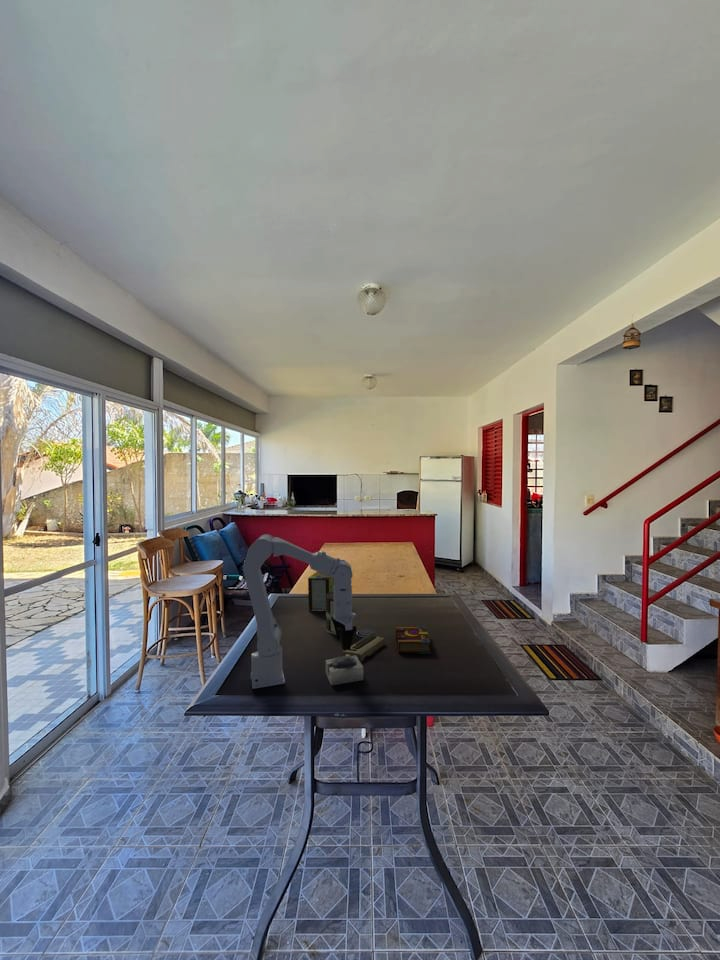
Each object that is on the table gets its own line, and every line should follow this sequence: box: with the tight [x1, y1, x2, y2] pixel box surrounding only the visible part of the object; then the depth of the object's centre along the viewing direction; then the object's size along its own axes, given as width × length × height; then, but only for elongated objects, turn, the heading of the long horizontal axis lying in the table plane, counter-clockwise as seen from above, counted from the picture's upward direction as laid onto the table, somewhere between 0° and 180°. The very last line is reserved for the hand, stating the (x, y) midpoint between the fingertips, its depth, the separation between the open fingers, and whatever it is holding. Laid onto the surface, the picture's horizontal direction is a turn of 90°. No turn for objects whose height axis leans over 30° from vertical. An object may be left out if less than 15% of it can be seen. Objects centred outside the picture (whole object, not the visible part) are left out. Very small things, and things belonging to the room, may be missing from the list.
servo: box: [331, 654, 357, 668], centre depth 122 cm, size 8×3×6 cm, turn 107°
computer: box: [341, 635, 386, 663], centre depth 139 cm, size 16×8×3 cm, turn 145°
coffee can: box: [325, 592, 336, 635], centre depth 158 cm, size 10×10×14 cm
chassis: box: [325, 655, 364, 686], centre depth 122 cm, size 10×8×4 cm
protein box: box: [307, 571, 334, 611], centre depth 186 cm, size 10×15×16 cm
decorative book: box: [395, 624, 431, 655], centre depth 144 cm, size 11×16×5 cm
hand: (343, 644), depth 122 cm, fingers open, 7 cm apart
